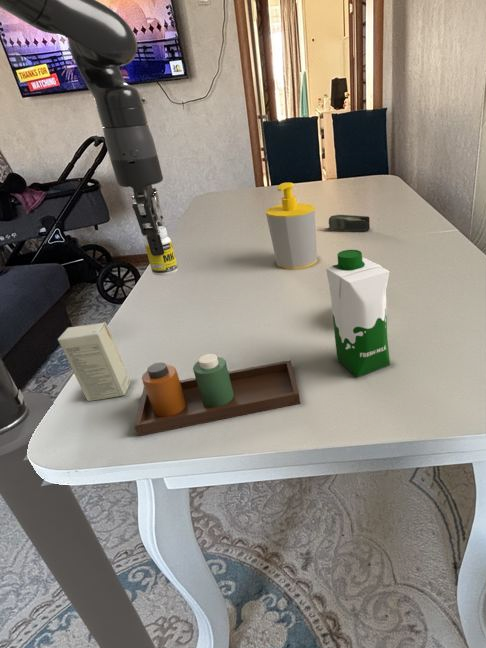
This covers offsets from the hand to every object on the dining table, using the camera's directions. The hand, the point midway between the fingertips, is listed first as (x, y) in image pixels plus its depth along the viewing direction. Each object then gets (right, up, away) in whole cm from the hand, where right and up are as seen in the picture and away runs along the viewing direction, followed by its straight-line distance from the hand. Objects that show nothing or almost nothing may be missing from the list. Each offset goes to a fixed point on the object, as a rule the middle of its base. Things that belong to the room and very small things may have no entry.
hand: (159, 250), depth 89 cm
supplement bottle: (0, -4, +2) cm, 5 cm away
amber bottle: (+8, -28, -14) cm, 32 cm away
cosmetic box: (-5, -26, -8) cm, 28 cm away
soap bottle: (+20, +6, +43) cm, 48 cm away
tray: (+16, -27, -12) cm, 34 cm away
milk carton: (+39, -22, -4) cm, 45 cm away
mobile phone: (+33, +20, +67) cm, 77 cm away
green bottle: (+15, -27, -12) cm, 33 cm away
